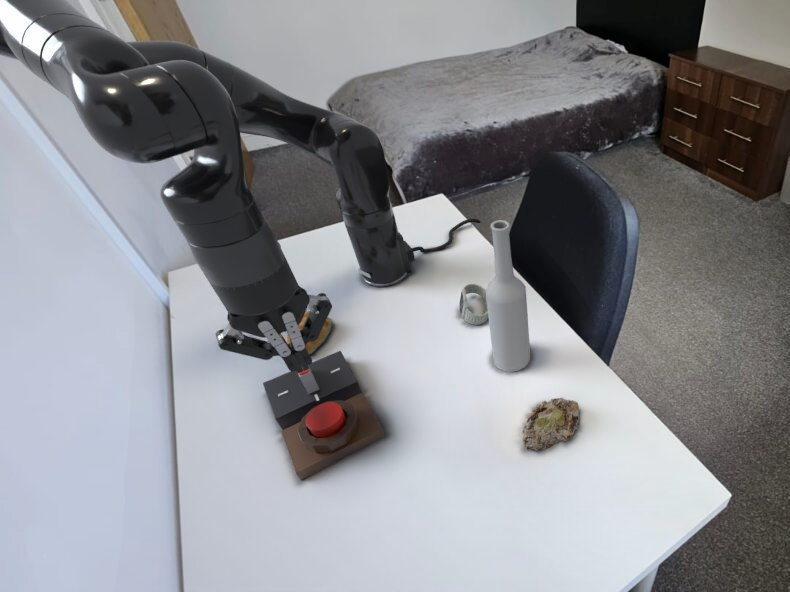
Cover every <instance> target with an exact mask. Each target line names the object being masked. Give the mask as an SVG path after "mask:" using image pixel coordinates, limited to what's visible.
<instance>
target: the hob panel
mask: <svg viewBox="0 0 790 592" xmlns="http://www.w3.org/2000/svg"><path fill="white" fill-rule="evenodd" d="M309 367H310V369H311V371H312V373H313V376H314V378H315V380H316V382H317V385H318V387H319V390H317V391H315V392H313V393H311V394H308V392H307V390H306V388H305V386H304V385H303V383H302V381H301V379H300V377H299V375H298V373H297V371H296V370H295V371H293V372H292V371H290V370H289V371H288V372H286V373H283V374H281V375H279V376H276V377H273V378H272V379H269V380H267V381H264V382H263V383H262V386H263V388H264V391H265V394H266V397H267V399H268V403H269V405H270V409H271V411H272V414H273V417H274V420H275V421H276V423H277V424H278V426H279V427H280V429H281V431H282V430H284V429H286V428H288V427H290V426H293V425H295V424H297V423H299V422H301V419H302V418H303V417H304V416H305V415H306V414H307V413H308V412H309V411H310V410H311V409H312V408H314V407H316V406H318V405H320V404H323V403H325V402H327V401H338V400H342V401H346V400H348V399H350V398H352V397H354V396H356V395H358V394H360V393H363V391H362V389H361V386H360V384H359V382H358V380H357V379H356V376H355V374H354V373H353V371H352V369H351V367H350V365H349V363H348V361H347V360H346V358H345V355H344V354H343V352H342V351H341V350H338V351H336V352H334V353H332V354H329V355H326V356H324V357H322V358H319V359H317V360H314V361H312V364H309Z"/></svg>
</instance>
